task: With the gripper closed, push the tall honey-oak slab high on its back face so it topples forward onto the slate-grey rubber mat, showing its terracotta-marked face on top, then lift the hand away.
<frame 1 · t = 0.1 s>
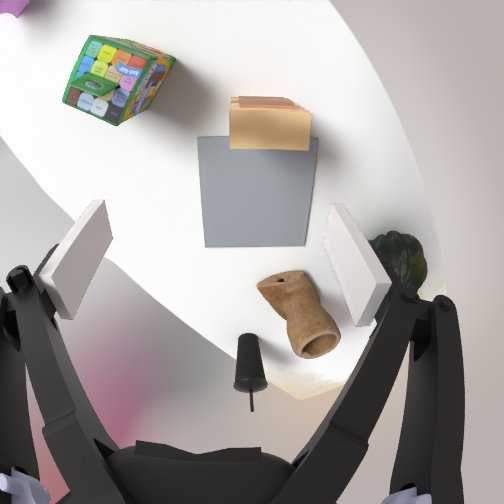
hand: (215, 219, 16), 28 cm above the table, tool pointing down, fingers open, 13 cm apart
oak slab: (259, 110, 37), on the table
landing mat: (256, 195, 45), on the table
drinking cup: (247, 337, 69), on the table
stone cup: (295, 289, 59), on the table
chalk box: (135, 73, 32), on the table
squash: (379, 250, 54), on the table
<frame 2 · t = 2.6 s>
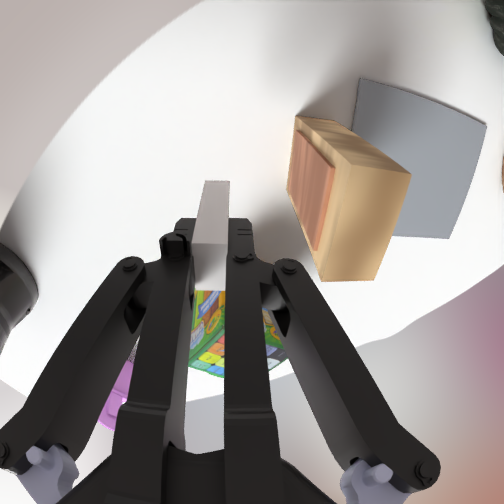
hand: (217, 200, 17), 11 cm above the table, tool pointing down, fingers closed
oak slab: (310, 155, 27), on the table
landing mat: (418, 171, 28), on the table
toy chair: (117, 364, 50), on the table
chalk box: (234, 285, 37), on the table
squash: (502, 25, 14), on the table
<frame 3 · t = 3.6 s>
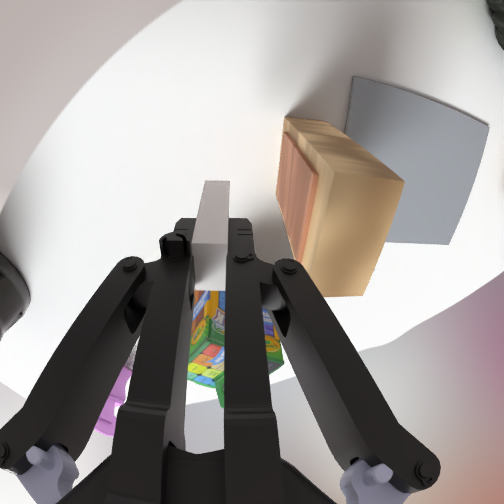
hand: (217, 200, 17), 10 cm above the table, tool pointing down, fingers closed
oak slab: (300, 158, 26), on the table
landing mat: (416, 175, 27), on the table
toy chair: (110, 368, 48), on the table
chalk box: (224, 292, 36), on the table
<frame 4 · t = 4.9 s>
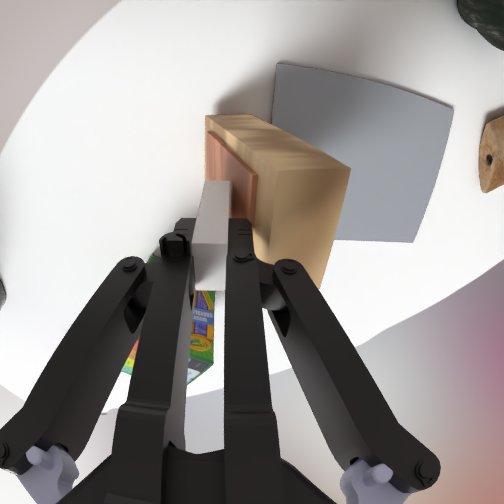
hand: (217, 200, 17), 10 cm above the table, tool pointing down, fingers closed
oak slab: (226, 156, 25), point 1 cm above the table, tilted 18°
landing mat: (364, 165, 26), on the table
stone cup: (503, 135, 23), on the table
chalk box: (170, 290, 36), on the table
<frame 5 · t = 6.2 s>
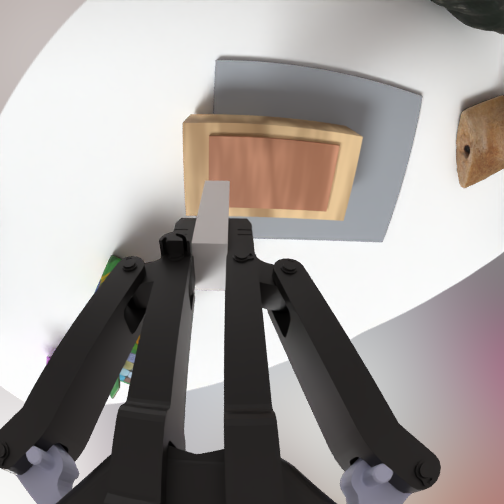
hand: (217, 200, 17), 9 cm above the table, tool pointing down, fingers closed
oak slab: (187, 163, 23), point 2 cm above the table, tilted 90°, touching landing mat
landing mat: (318, 160, 26), on the table
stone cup: (485, 124, 22), on the table
chalk box: (133, 289, 35), on the table
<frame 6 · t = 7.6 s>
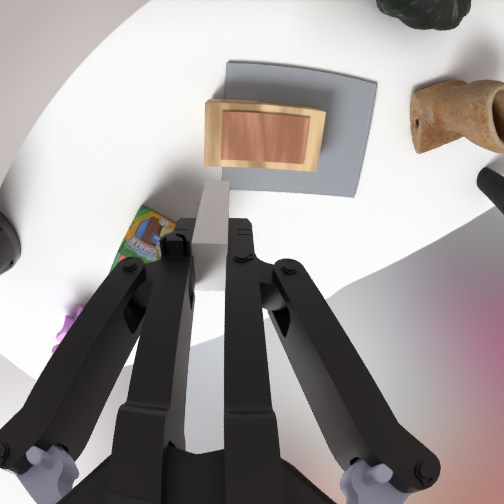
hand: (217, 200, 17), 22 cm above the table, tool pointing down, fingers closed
oak slab: (206, 131, 32), point 2 cm above the table, tilted 90°, touching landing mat
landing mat: (298, 132, 35), on the table
drinking cup: (483, 178, 39), on the table
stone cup: (437, 104, 31), on the table
toy chair: (81, 317, 57), on the table
chalk box: (155, 236, 45), on the table
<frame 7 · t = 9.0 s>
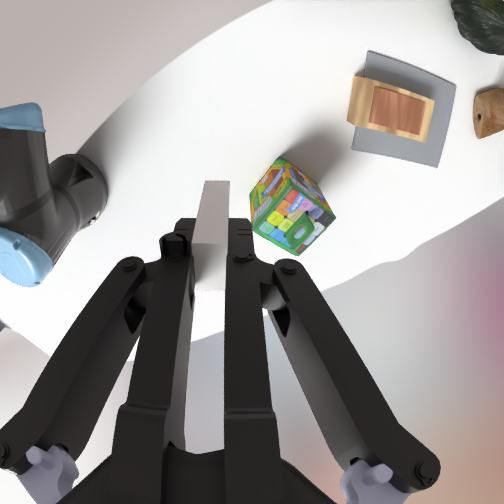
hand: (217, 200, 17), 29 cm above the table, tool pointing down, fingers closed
oak slab: (355, 99, 36), point 2 cm above the table, tilted 90°, touching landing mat
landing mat: (408, 113, 39), on the table
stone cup: (488, 105, 36), on the table
chalk box: (283, 189, 49), on the table
squash: (466, 18, 25), on the table
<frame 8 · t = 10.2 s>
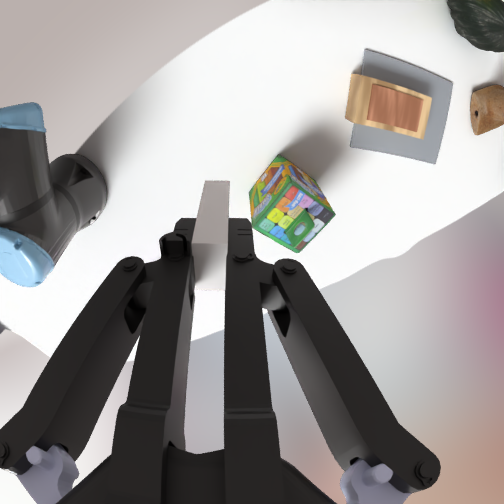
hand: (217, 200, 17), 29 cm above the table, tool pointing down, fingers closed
oak slab: (353, 97, 37), point 2 cm above the table, tilted 90°, touching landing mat
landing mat: (406, 110, 40), on the table
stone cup: (485, 101, 36), on the table
chalk box: (282, 186, 49), on the table
squash: (463, 16, 25), on the table
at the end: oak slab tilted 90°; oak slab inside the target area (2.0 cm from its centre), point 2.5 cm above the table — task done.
